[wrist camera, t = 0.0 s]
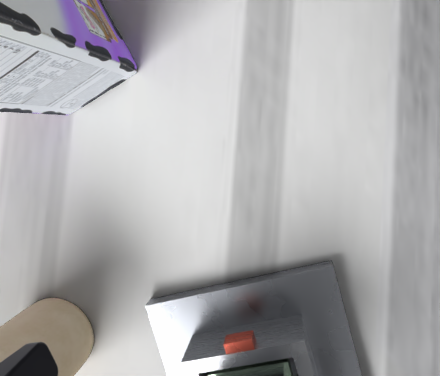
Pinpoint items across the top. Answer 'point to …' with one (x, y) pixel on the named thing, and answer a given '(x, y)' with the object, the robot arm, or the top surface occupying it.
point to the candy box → (58, 55)
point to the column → (258, 369)
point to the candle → (51, 333)
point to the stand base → (257, 325)
